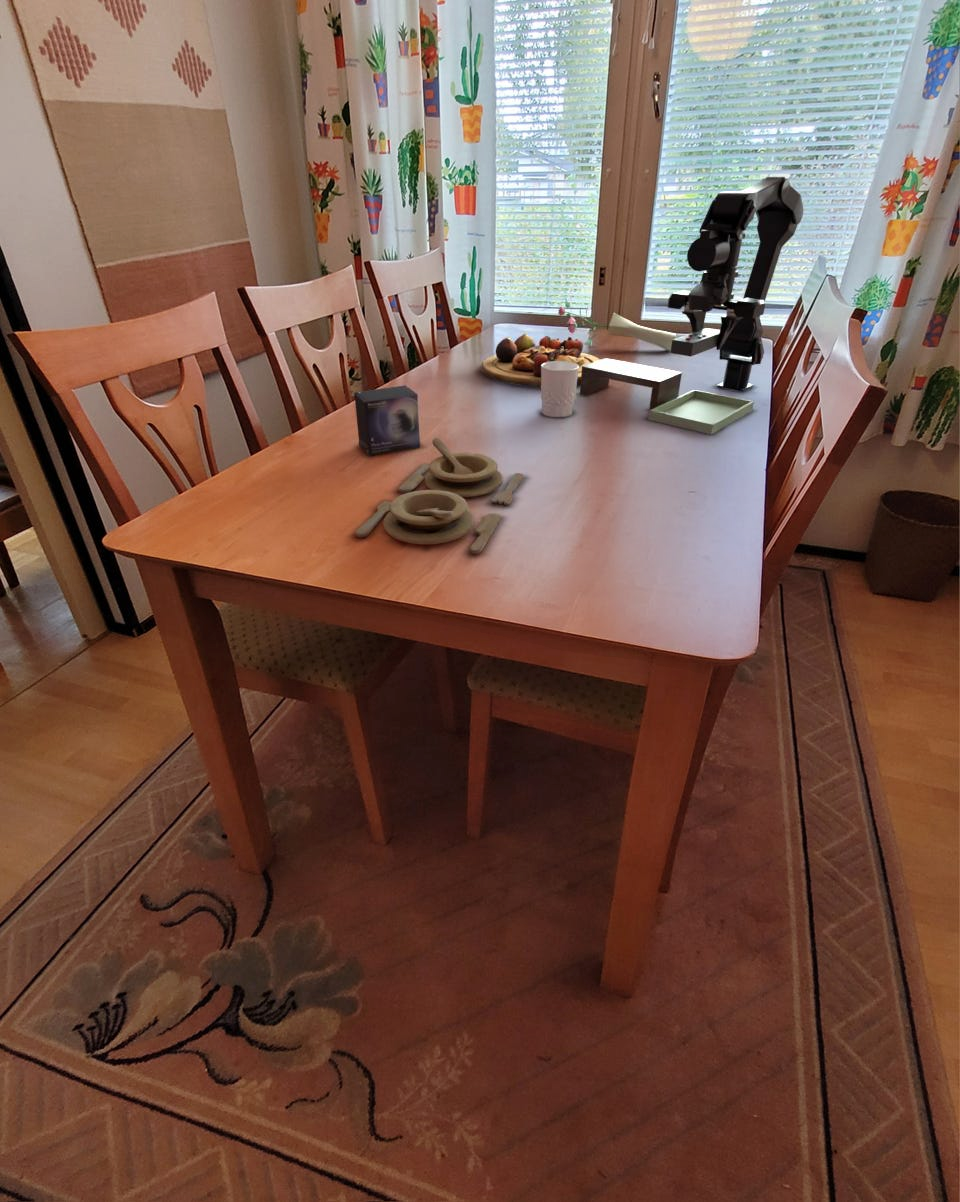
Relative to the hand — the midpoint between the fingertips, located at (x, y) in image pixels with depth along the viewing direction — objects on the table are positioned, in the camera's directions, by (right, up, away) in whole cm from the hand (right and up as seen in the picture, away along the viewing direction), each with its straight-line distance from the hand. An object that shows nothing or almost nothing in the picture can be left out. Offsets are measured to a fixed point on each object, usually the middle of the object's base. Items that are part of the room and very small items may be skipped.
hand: (707, 347), depth 138 cm
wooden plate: (-32, +6, +32) cm, 46 cm away
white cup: (-32, -13, +4) cm, 34 cm away
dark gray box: (-3, -1, -3) cm, 5 cm away
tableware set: (-54, -39, -34) cm, 75 cm away
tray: (-1, -14, +2) cm, 14 cm away
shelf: (-14, -7, +12) cm, 20 cm away
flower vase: (-9, +21, +54) cm, 59 cm away
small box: (-66, -25, -13) cm, 72 cm away
